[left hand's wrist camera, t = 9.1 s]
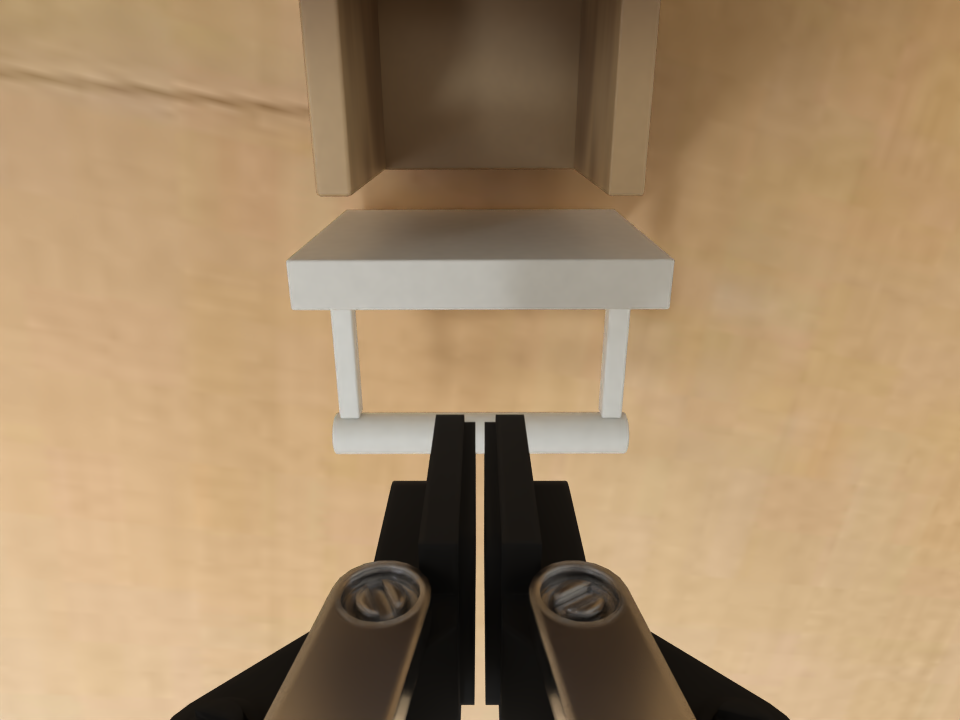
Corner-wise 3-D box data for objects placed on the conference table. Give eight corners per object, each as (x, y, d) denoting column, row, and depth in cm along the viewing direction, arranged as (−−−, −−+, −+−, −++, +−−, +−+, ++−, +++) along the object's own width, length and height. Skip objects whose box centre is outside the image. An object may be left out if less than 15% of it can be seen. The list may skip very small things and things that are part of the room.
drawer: (601, 392, 24) (648, 507, 17) (359, 393, 24) (313, 507, 17) (643, -194, 18) (743, -370, 11) (315, -193, 18) (214, -369, 11)
